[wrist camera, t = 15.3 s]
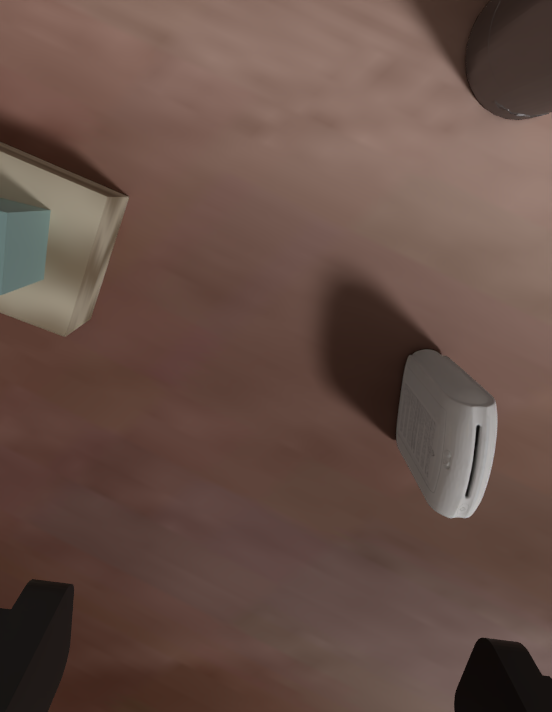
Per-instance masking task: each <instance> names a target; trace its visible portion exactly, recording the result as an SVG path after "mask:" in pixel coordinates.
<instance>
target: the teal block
mask: <svg viewBox="0 0 552 712" xmlns="http://www.w3.org/2000/svg"><path fill="white" fill-rule="evenodd" d="M50 212H51V210H48V209H44V208H40V207H36V206H32V205H28V204H24V203H20V202H16V201H11V200H7V199H3V198H0V295H3V294H6V293H9V292H11V291H14V290H17V289H19V288H22V287H25V286H27V285H30V284H33V283H36V282H38V281H41V280H44V272H45V262H46V252H47V242H48V232H49V222H50Z"/></svg>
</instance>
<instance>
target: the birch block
mask: <svg viewBox="0 0 552 712" xmlns="http://www.w3.org/2000/svg"><path fill="white" fill-rule="evenodd" d="M0 198H3V199H7V200H11V201H16V202H20V203H24V204H28V205H32V206H36V207H40V208H44V209H48V210H51V212H50V222H49V232H48V242H47V252H46V262H45V272H44V280H41V281H38V282H36V283H33V284H30V285H27V286H25V287H22V288H19V289H17V290H14V291H11V292H9V293H6V294H3V295H0V313H3V314H5V315H8V316H11V317H13V318H16V319H19V320H21V321H24V322H27V323H29V324H32V325H35V326H37V327H40V328H43V329H45V330H48V331H51V332H53V333H56V334H58V335H61V336H64V337H66V336H67V335H69V334H70V333H71V332H73V331H74V330H76V329H77V328H78V327H80V326H81V325H83V324H84V323H85V322H87V321H88V320H90V319H91V316H92V313H93V310H94V307H95V303H96V300H97V297H98V294H99V291H100V288H101V284H102V281H103V278H104V275H105V272H106V269H107V266H108V262H109V259H110V256H111V253H112V250H113V247H114V243H115V240H116V237H117V234H118V231H119V228H120V224H121V221H122V218H123V215H124V212H125V209H126V206H127V202H128V199H129V197H128V196H126V195H123V194H121V193H119V192H116V191H114V190H112V189H109V188H107V187H105V186H102V185H100V184H98V183H95V182H93V181H91V180H88V179H86V178H84V177H81V176H79V175H77V174H74V173H72V172H70V171H67V170H65V169H63V168H60V167H58V166H56V165H53V164H51V163H49V162H46V161H44V160H42V159H39V158H37V157H35V156H32V155H30V154H28V153H25V152H23V151H21V150H18V149H16V148H14V147H11V146H9V145H7V144H4V143H2V142H0Z"/></svg>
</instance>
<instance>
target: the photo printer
mask: <svg viewBox="0 0 552 712" xmlns="http://www.w3.org/2000/svg"><path fill="white" fill-rule="evenodd" d="M496 436H497V408H496V402H495V399H494V397H493V396H492V395H490V394H489V393H488V392H487V391H486V390H485V389H484V388H483V387H482V386H481V385H479V384H478V383H477V382H476V381H475V380H474V379H473V378H472V377H470V376H469V375H468V374H467V373H466V372H465V371H464V370H463V369H461V368H460V367H459V366H458V365H457V364H456V363H455V362H453V361H452V360H451V359H450V358H449V357H447V356H442V355H441V354H440V353H438V352H437V351H434V350H430V349H424V350H419V351H417V352H415V353H413V354H412V355H409V356H408V358H407V361H406V365H405V369H404V375H403V380H402V387H401V394H400V402H399V410H398V418H397V428H396V441H397V446H398V449H399V451H400V452H401V454H402V456H403V458H404V460H405V461H406V463H407V465H408V467H409V469H410V471H411V473H412V475H413V476H414V478H415V480H416V482H417V484H418V486H419V488H420V490H421V491H422V493H423V495H424V497H425V499H426V501H427V503H428V504H429V506H430V507H431V508H432V509H434V510H435V511H436V512H438V513H440V514H441V515H443V516H446V517H448V518H455V517H462V518H468V517H470V516H471V515H472V514H473V513H474V511H475V510H476V509H477V507H478V505H479V504H480V502H481V500H482V497H483V495H484V492H485V489H486V486H487V483H488V480H489V476H490V472H491V468H492V463H493V458H494V452H495V445H496Z"/></svg>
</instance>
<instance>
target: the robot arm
mask: <svg viewBox="0 0 552 712" xmlns="http://www.w3.org/2000/svg"><path fill="white" fill-rule="evenodd" d="M465 61H466V72H467V77H468V81H469V84H470V88H471V89H472V91H473V93H474V95H475V97H476V99H477V100H478V101H479V102H480V103H481V104H482V105H483V107H484V108H485V109H487V110H488V111H490V112H491V113H493V114H494V115H497V116H499V117H502V118H505V119H513V120H522V119H529V118H533V117H537V116H542V115H546V114H549V113H550V112H552V0H491V1H490V2H489V3H488V4H487V5H486V6H485V8H484V9H483V10H482V12H481V13H480V15H479V16H478V17H477V20H476V22H475V24H474V26H473V28H472V30H471V33H470V36H469V40H468V44H467V50H466V60H465ZM73 598H74V586H73V584H66V583H59V582H51V581H43V580H35V579H32V580H30V581H29V582H28V584H27V585H26V586H25V588H24V589H23V591H22V593H21V594H20V596H19V598H18V599H17V601H16V603H15V604H14V606H13V607H12V609H2V608H0V712H48V710H49V707H50V705H51V702H52V700H53V698H54V695H55V693H56V691H57V688H58V686H59V683H60V681H61V678H62V675H63V672H64V669H65V665H66V662H67V658H68V653H69V648H70V639H71V625H72V611H73ZM454 709H455V712H552V679H551V678H550V677H549V676H542V674H541V672H540V671H539V669H538V667H537V666H536V664H535V662H534V660H533V659H532V657H531V655H530V654H529V652H528V650H527V649H526V648H525V647H524V646H523V645H522V644H521V643H519V642H513V641H505V640H497V639H489V638H480V639H478V641H477V642H476V644H475V646H474V648H473V651H472V653H471V655H470V658H469V660H468V663H467V665H466V668H465V670H464V672H463V675H462V677H461V680H460V682H459V685H458V687H457V690H456V693H455V700H454Z"/></svg>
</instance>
